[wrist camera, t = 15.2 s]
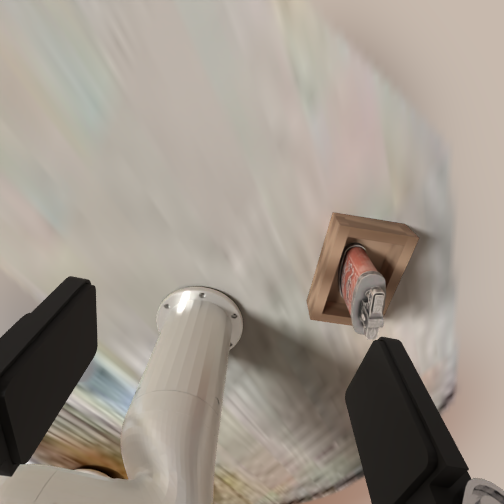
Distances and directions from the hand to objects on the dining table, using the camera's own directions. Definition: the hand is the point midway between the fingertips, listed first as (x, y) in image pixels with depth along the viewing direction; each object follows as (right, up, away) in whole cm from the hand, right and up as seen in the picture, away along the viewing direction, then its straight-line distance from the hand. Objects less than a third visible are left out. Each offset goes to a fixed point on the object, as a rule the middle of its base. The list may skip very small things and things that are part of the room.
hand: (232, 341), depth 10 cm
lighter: (+14, +1, +30) cm, 33 cm away
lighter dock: (+14, +1, +30) cm, 33 cm away
